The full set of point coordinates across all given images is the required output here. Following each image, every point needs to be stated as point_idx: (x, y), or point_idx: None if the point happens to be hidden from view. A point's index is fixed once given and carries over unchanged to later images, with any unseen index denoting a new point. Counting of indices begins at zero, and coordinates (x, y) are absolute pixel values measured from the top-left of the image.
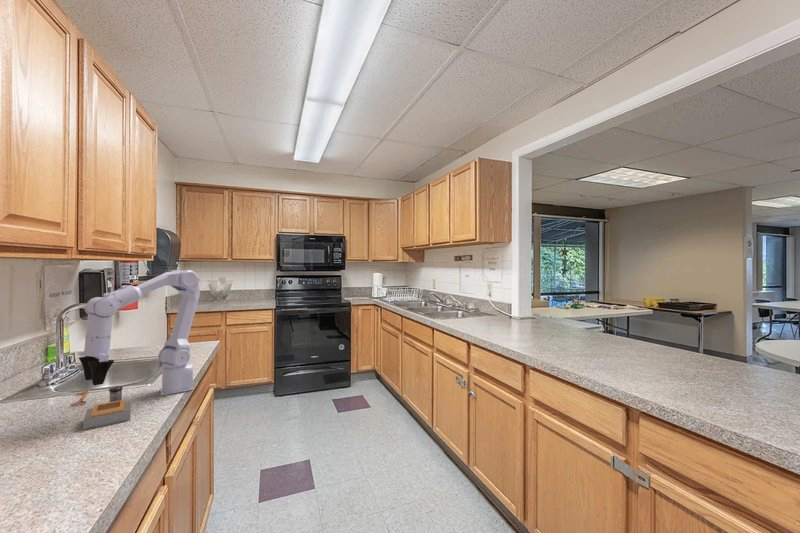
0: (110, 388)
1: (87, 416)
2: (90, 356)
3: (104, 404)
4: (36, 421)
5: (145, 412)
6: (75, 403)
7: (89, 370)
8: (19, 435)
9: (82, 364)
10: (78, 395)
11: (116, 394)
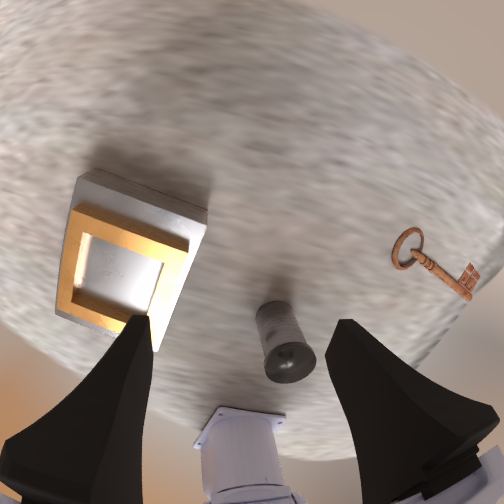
0: (308, 353)
1: (98, 196)
2: (420, 485)
3: (159, 282)
4: (371, 105)
5: (103, 339)
6: (421, 245)
7: (365, 384)
8: (269, 22)
9: (434, 393)
10: (465, 272)
11: (264, 347)
